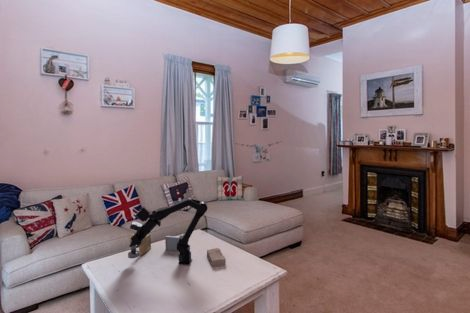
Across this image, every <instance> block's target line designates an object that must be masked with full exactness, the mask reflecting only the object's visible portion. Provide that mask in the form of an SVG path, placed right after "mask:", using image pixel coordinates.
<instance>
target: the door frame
mask: <svg viewBox="0 0 470 313" xmlns="http://www.w3.org/2000/svg"><path fill="white" fill-rule="evenodd" d="M164 239H165V242H164V243H165V251H177V252H179V251H178V250H177V245H176V244H177V240H178V239H179V236H175V235H173V236H172V235H165V238H164Z"/></svg>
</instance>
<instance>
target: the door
mask: <svg viewBox="0 0 470 313" xmlns="http://www.w3.org/2000/svg"><path fill="white" fill-rule="evenodd" d="M151 238H152V237H151V233H149V234H148V235H147V236H146V237H145V238H144V239H143V241H142V243H141V244H140V245H139V246H138V251H139V253H140V256H139V257H142V256H143V255H144V254H146V253H147V252H148V251H150V250H151V249H152V242H151V240H152V239H151Z"/></svg>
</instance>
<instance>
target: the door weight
mask: <svg viewBox="0 0 470 313" xmlns="http://www.w3.org/2000/svg"><path fill="white" fill-rule="evenodd" d="M133 235H134V234H131V235H130V236H129V240H130V244H131V242H132V240H131V237H132V236H133ZM130 244H129V245H130ZM127 257H128V259H136V258H138V257H141V256H140V253H139V250H137V245H135V246H132V247H130V251H129V252H128V253H127Z"/></svg>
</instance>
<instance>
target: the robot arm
mask: <svg viewBox="0 0 470 313" xmlns="http://www.w3.org/2000/svg"><path fill="white" fill-rule="evenodd" d="M187 207H190V208H192V209H194V210H195V212H194V215H193V217H192V218H191V220H190V223H189V224H188V226H187V227H186V229H185V232H184V233H183V235H179V236H178V237H179V239H178V240H177V244H176V245H177V250H178V251H177V252H179V254H178V264H180V265H190V264H191V262H192V261H193V259H192V251H191V245H190V244H189V240H190V238H191V236H192V234H193V232H194V230H196V226H197V225H198V223H199V221H200V220H201V218H202V217H203V216H204V215H205V214H206V213H207V211H208V204H207V202H206V201H204V200H201V201H200V200H198V199H194V198H191V197H187V198H186V199H184V200H181V201H180V202H179V201H178V202H177V203H174V204H172V205H170V206H166V207H165V206H164V207H163V206H162V207H160V208H157V209H156V210H152V211H149V210H148V209H147V208H146V207H145V206H142V207H141V209H139V210H138V211H137V212H136V214H135V215H134V216H135V217H136V218H137V219H138V220H139V221H141V222H145V223H143V224H142V223H139V222H137V221H135V220H134V221H132V222H131V223H130V226H129V229H130V230H133V231H135V233H134V234H132V235H133V236H132V237H131V240H132V242H131V244H129V247H130V248H131V247H132V246H135V245H136V246H138V247H139V245H140V244H141V243H142V241H143V239H144V238H145V237H146V236H147V235H148V234H151V232H152V230H154V228H155V227H156V226H158V227H160V226H161V225H162V221H163V220H164V219H166V218H167V217H168V216H169V215H171V214H174V213H175V212H177V211H178V212H179V211H180V210H183V209H185V208H187Z"/></svg>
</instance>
